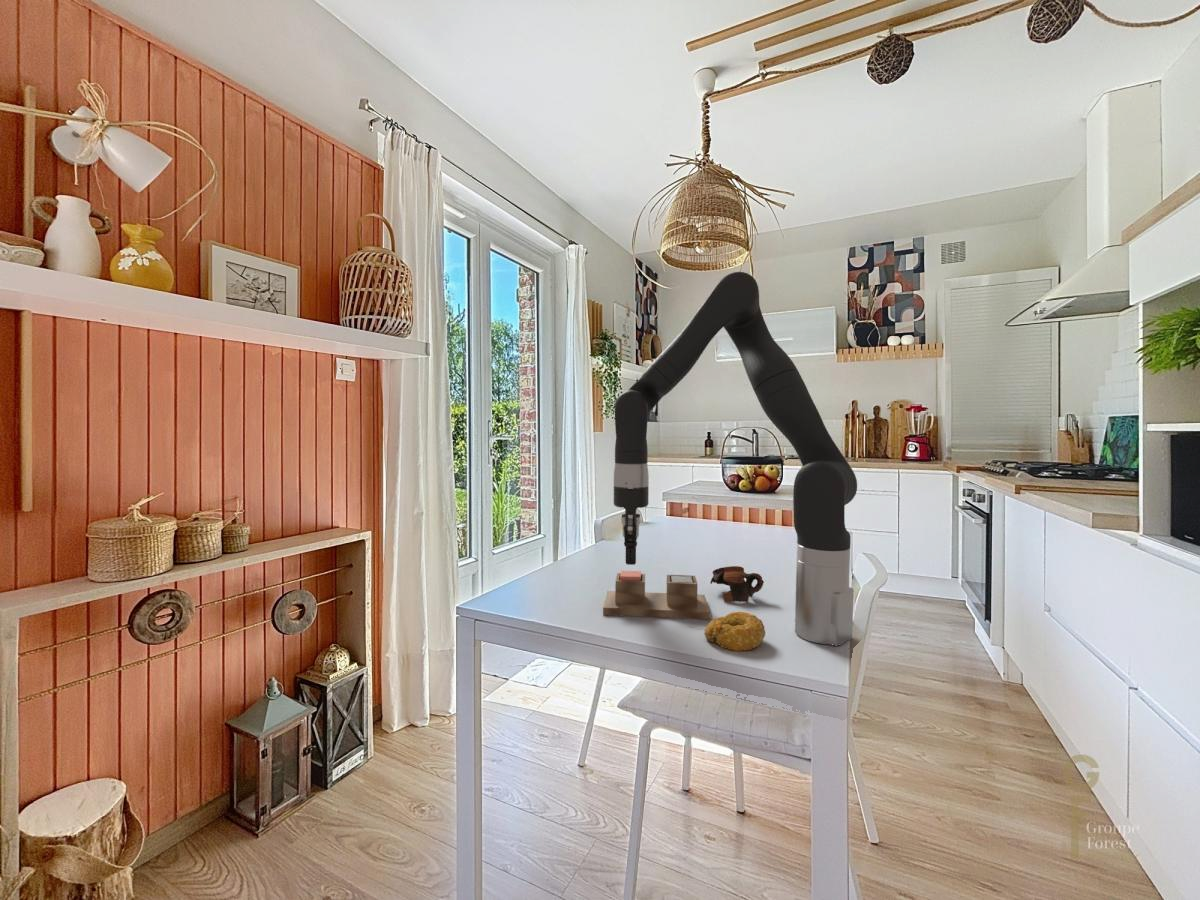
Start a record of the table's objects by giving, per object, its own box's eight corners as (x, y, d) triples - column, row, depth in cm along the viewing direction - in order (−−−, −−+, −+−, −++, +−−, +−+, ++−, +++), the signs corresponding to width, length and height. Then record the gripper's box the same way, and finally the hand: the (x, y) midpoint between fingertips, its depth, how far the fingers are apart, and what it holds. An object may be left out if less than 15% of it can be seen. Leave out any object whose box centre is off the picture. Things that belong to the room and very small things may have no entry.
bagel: (707, 627, 103) (708, 604, 103) (766, 635, 99) (766, 611, 99) (699, 647, 94) (700, 621, 94) (763, 657, 90) (764, 630, 90)
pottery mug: (710, 604, 118) (705, 568, 121) (719, 610, 125) (713, 576, 129) (765, 596, 114) (757, 559, 118) (770, 603, 122) (763, 568, 125)
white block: (690, 598, 115) (691, 576, 115) (692, 605, 111) (692, 582, 110) (670, 598, 115) (671, 575, 115) (671, 604, 111) (671, 581, 111)
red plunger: (640, 593, 116) (641, 571, 116) (640, 600, 112) (640, 577, 111) (620, 592, 116) (621, 570, 116) (619, 599, 112) (620, 576, 112)
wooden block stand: (704, 601, 118) (704, 572, 118) (709, 619, 107) (710, 587, 107) (607, 597, 120) (607, 569, 120) (603, 614, 109) (603, 583, 109)
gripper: (615, 480, 119) (615, 556, 120) (611, 487, 106) (611, 571, 107) (648, 481, 119) (648, 556, 120) (648, 487, 106) (648, 572, 106)
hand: (630, 563), depth 113 cm, fingers closed
